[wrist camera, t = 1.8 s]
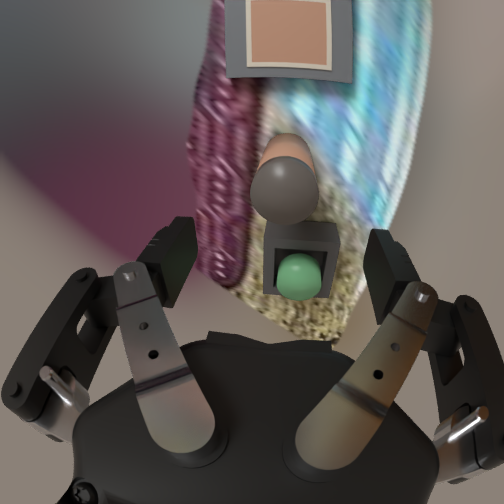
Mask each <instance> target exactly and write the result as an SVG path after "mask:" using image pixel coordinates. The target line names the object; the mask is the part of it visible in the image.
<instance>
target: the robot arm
mask: <svg viewBox="0 0 504 504" xmlns="http://www.w3.org/2000/svg"><path fill="white" fill-rule="evenodd" d="M197 253H198V245H197V238H196V231H195V223H194V219H193V217H180V216H177V217H175V219H174V220H173V221H172V223H171V224H170V225H169V227H168V226H167V227H166V226H165V227H164V228H162V229H161V230H160V231H158V232H157V233H156V234H155V236H154V237H153V238H152V240H151V241H150V242H149V244H148V245H147V246H146V248H145V249H144V250H143V252H142V253H141V254H140V256H139V257H138V258H137V260H136V261H135V262H128V263H125V264H123V265H121V266H120V267H119V268H117V269H116V271H115V272H114V275H113V276H106V277H98V275H97V273H96V270H95V269H93V268H82V269H80V270H78V271H76V272H75V273H73V274H72V275H71V276H70V278H69V279H68V280H67V282H66V283H65V285H64V286H63V287H62V289H61V290H60V291H59V293H58V294H57V295H56V297H55V298H54V300H53V301H52V303H51V304H50V306H49V307H48V309H47V310H46V311H45V313H44V314H43V316H42V317H41V319H40V320H39V322H38V324H37V325H36V327H35V328H34V330H33V332H32V333H31V335H30V336H29V338H28V340H27V342H26V343H25V345H24V347H23V348H22V350H21V352H20V354H19V355H18V357H17V359H16V361H15V363H14V365H13V366H12V368H11V370H10V372H9V374H8V376H7V378H6V380H5V382H4V384H3V387H2V391H1V397H2V401H3V403H4V405H5V406H6V407H7V408H9V409H10V410H11V411H12V412H14V413H15V414H16V415H17V416H19V417H20V419H21V420H23V421H24V422H25V423H27V424H28V425H29V426H31V427H32V428H34V429H35V430H37V431H38V432H40V433H42V434H45V435H46V436H48V437H49V438H51V439H52V440H54V441H57V442H63V441H64V442H66V443H69V444H71V445H72V446H73V453H74V473H73V480H72V482H71V485H70V486H69V488H68V490H67V491H66V492H65V494H64V495H63V496H62V497H61V499H60V500H59V501H58V502H57V503H56V504H427V502H428V499H429V497H430V494H431V492H432V490H433V488H434V485H436V484H440V483H444V482H448V483H450V484H458V483H460V482H463V481H466V480H468V479H470V478H473V477H475V476H478V475H480V474H482V473H484V472H487V471H489V470H491V469H493V468H495V467H497V466H499V465H501V464H503V463H504V363H503V360H502V357H501V354H500V351H499V348H498V345H497V343H496V340H495V338H494V335H493V333H492V330H491V328H490V325H489V323H488V321H487V318H486V316H485V314H484V312H483V310H482V308H481V306H480V304H479V303H478V302H477V301H476V300H475V299H474V298H472V297H470V296H467V295H460V296H458V297H457V299H456V300H455V302H454V304H453V303H450V302H446V301H443V300H440V299H438V294H437V292H436V291H435V290H434V288H433V287H431V286H430V285H428V284H427V283H424V282H421V280H420V278H419V275H418V273H417V271H416V269H415V267H414V265H413V264H412V261H411V259H410V258H409V255H408V253H407V251H406V249H405V248H404V247H403V246H402V245H401V244H400V243H398V242H396V241H394V240H393V238H392V236H391V234H390V232H389V231H388V230H383V229H372V230H371V232H370V235H369V239H368V244H367V248H366V251H365V255H364V261H363V270H364V274H365V277H366V281H367V285H368V288H369V292H370V296H371V300H372V304H373V308H374V312H375V316H376V321H377V325H381V326H380V327H379V329H378V330H377V332H376V333H375V335H374V336H373V337H372V339H371V340H370V342H369V343H368V345H367V346H366V348H365V349H364V350H363V351H362V353H361V354H360V356H359V357H358V358H357V360H356V361H355V360H353V359H351V358H350V357H348V356H346V355H344V354H342V353H339V352H337V351H333V350H332V346H331V341H319V340H296V341H289V342H282V343H274V344H267V343H263V342H260V341H257V340H253V339H251V338H247V337H244V336H241V335H238V334H229V333H221V332H212V331H209V332H208V335H207V339H206V340H199V341H195V342H191V343H188V344H185V345H183V346H181V347H179V346H178V343H177V341H176V339H175V336H174V334H173V332H172V330H171V327H170V325H169V323H168V320H167V318H166V316H165V313H164V311H163V307H167V308H173V307H174V304H175V302H176V300H177V298H178V296H179V293H180V291H181V289H182V287H183V285H184V283H185V281H186V279H187V276H188V274H189V272H190V270H191V268H192V266H193V264H194V262H195V260H196V258H197ZM83 314H84V315H85V317H86V321H85V323H84V325H83V326H82V328H81V330H80V332H79V334H78V335H77V325H78V323H79V321H80V319H81V317H82V316H83ZM117 326H120V330H121V335H122V339H123V343H124V347H125V351H126V355H127V358H128V362H129V366H130V369H131V372H132V376H133V378H132V379H130V380H129V381H127V382H126V383H124V384H123V385H121V386H120V387H118V388H117V389H115V390H114V391H112V392H110V393H109V394H107V395H106V396H104V397H102V398H101V399H99V400H98V401H96V402H94V403H93V404H92V405H90V406H89V402H90V398H89V394H88V392H87V391H88V389H89V387H90V384H91V382H92V379H93V377H94V374H95V372H96V370H97V368H98V365H99V363H100V361H101V359H102V357H103V354H104V352H105V350H106V347H107V345H108V343H109V341H110V339H111V337H112V335H113V333H114V331H115V329H116V327H117ZM461 347H462V350H463V354H464V358H465V361H464V366H463V364H462V360H461V356H460V353H459V349H460V348H461ZM420 350H423V351H427V352H428V356H429V360H430V365H431V369H432V375H433V380H434V385H435V392H436V398H437V404H438V412H439V420H440V424H439V425H438V427H437V428H436V430H435V434H434V440H433V441H431V440H430V439H429V438H428V436H427V435H426V434H425V433H424V432H423V431H422V430H421V429H420V428H419V427H418V426H417V425H416V424H415V423H414V422H413V421H412V419H411V418H410V417H409V416H407V414H406V413H405V412H404V411H403V410H402V409H401V408H400V407H399V406H398V405H397V404H396V403H395V401H394V399H395V397H396V396H397V394H398V392H399V390H400V389H401V387H402V385H403V383H404V381H405V379H406V378H407V376H408V373H409V372H410V370H411V368H412V366H413V364H414V362H415V360H416V358H417V356H418V353H419V351H420Z"/></svg>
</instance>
